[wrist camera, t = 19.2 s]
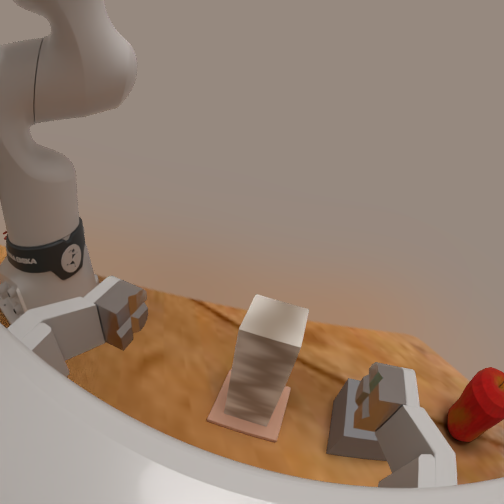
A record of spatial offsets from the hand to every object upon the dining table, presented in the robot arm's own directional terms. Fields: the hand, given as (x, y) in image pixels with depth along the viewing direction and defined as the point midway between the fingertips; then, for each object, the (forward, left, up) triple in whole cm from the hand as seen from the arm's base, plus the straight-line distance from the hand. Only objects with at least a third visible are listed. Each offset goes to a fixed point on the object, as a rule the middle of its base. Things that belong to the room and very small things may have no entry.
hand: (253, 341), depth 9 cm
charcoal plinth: (+14, +12, -24) cm, 30 cm away
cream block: (0, +12, -23) cm, 26 cm away
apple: (+31, +14, -24) cm, 42 cm away
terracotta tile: (0, +12, -24) cm, 26 cm away
